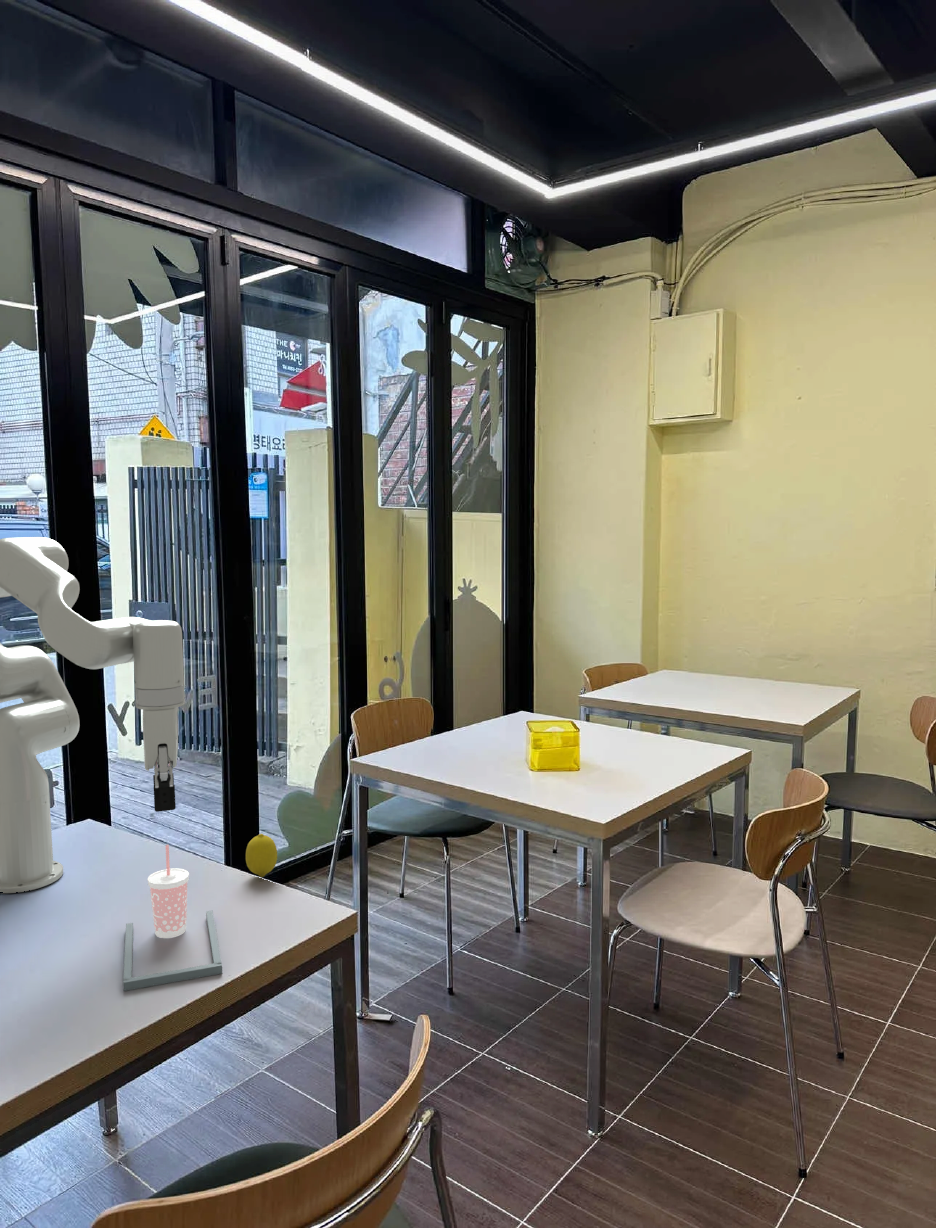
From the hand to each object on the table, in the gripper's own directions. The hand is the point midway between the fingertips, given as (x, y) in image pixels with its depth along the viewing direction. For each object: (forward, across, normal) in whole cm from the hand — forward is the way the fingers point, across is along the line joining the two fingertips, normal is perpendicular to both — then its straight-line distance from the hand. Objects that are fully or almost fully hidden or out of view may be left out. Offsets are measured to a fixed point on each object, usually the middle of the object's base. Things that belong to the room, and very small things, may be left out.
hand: (164, 802), depth 142 cm
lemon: (+18, -6, +16) cm, 25 cm away
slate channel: (+18, +17, 0) cm, 24 cm away
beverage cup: (+18, +10, 0) cm, 20 cm away
